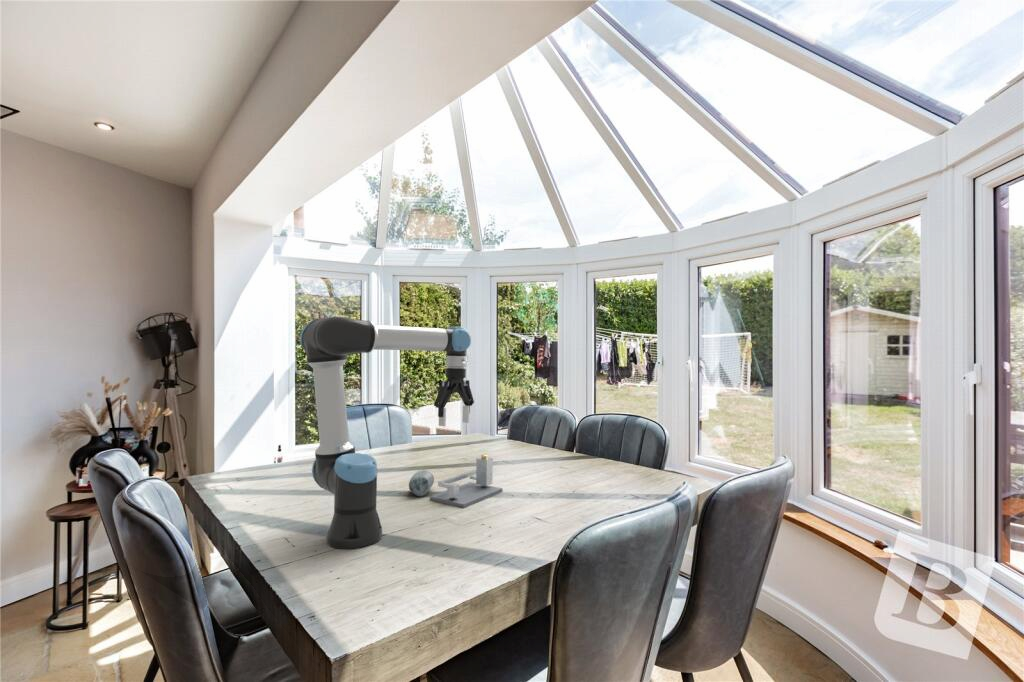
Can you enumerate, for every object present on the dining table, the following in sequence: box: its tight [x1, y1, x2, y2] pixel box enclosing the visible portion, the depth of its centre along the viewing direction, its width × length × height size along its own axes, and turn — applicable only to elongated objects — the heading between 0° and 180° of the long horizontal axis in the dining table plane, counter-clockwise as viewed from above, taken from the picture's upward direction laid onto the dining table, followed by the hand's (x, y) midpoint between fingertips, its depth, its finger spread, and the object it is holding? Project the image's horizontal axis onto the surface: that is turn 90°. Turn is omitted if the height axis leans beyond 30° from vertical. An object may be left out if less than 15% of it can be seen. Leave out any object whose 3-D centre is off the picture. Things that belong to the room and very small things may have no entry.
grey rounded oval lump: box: [408, 469, 435, 497], centre depth 182 cm, size 14×10×10 cm
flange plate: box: [429, 481, 503, 509], centre depth 179 cm, size 24×16×1 cm, turn 147°
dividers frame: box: [437, 469, 476, 499], centre depth 180 cm, size 24×9×5 cm, turn 147°
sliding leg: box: [469, 454, 494, 486], centre depth 187 cm, size 4×9×12 cm, turn 57°
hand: (454, 424), depth 176 cm, fingers open, 13 cm apart
